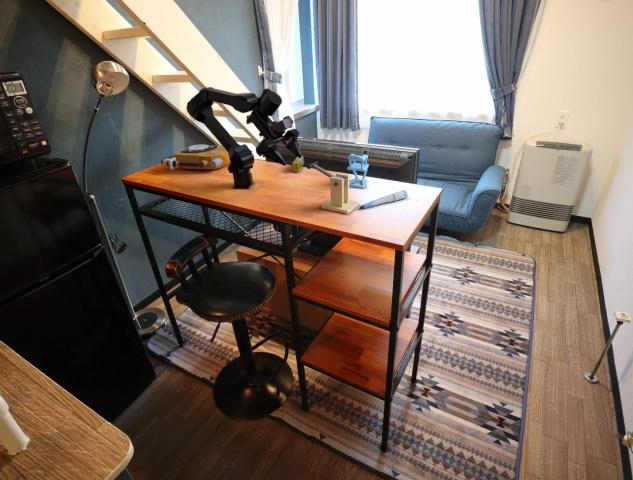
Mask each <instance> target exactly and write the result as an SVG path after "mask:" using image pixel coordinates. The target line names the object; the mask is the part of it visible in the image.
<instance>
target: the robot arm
mask: <svg viewBox="0 0 633 480" xmlns="http://www.w3.org/2000/svg"><path fill="white" fill-rule="evenodd" d="M214 103H218V104H222V105H225V106H230V107H231V108H233V110H235V111H236V112H239V113H240V114H247V113H249V112H251V113H250V114H248V115H246V116H245V117H246V119H245V123H246V125H249V124H253V126H254V127H255V128H256V129H257V131H258V132H259V133H258V136H259V138H261V137H263V139H261V141H259V143H258V144H257V146H256V147H255V153H256V154H257V156H258V157H262V158H266V159H268V160H271V161H273V162H275V163H277V164H279V165H281V166H283V167H285V166H287V162H286V161H285V159H284V157H283V155H281V153H280V152H279V150H278V145H281V144H283V145H284V146H285V148H286V150H288V151H290V152H291V153H292V155H294V156H295V157H296V158H297V157H298V158H301V157H302V152H301V150H300V147H299V144H298V138H299V135H300V131H298V129H297V128H293V127H294V126H293V125H294V119H292V117H291V116H290V115H287V116H286V115H285V116H284V117H282V120H279V121H277V120H272V118H271V117H273V116H274V115H275V113H276V112H277V111H278V109H279V108H280V106H281V105H282V104H283V99H282V96H281V95H280V94H278V93H276V92H275V91H273V90H271V89H270V88H269V87H268V88H264V89H263V91H262V93H261V95H260V96H257V94H256V93H254V92H240V93H235V92H231V91H227V90H222V89H219V88H215V87H212V86H208V87H203V88H200V90H199V91H198V93H196V95H194V96H193V97H191V99H190V100H188V102H187V103H186V106H185V107H186V108H185V109H186V112H187V114H188V115H189V116H190V117H191V118H192V119H193V120H194V121H196V122H198V123H201V124H203V125H204V126H205V127H206V128H207V130H208V131H209V132H210V133H211V134H212V135H213V137H214V138H215V139H216V140H217V141H218V143H219V144H220V145H222V146H223V147H224V148H225V149H226V150H227V152H228V155H229V160H230V161H231V162H230V163H229V164H228V166H227V170H228V171H227V172H228V173H229V174H232V179H233V185H232V188H233V189H250V187H251V186H252V185H253V184H254V179H253V173H252V172H251V170H252V169H253V168H254V163H255V155H254V154H253V150H251V149H250V148H249V146H248V144H245V143H244V144H239V143H238V142H237V141H236V140H235V138H233V136H232V135H231V134H230V133H229V131H228V130H227V129H226V128H225V127H224V125H222V123H221V122H220V121H219V119H217V118H216V116H215V115H214V108H213V105H214Z"/></svg>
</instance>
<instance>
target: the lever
mask: <svg viewBox="0 0 633 480" xmlns="http://www.w3.org/2000/svg"><path fill="white" fill-rule="evenodd" d="M312 168H313V169H314V170H315V171H317V172H320V173H321V174H322V175H324V176H326V177H327V178H329V179H330V177H336V175H334V174H333V173H331V172H329V171H327V170H326V169H324V168H323V167H320V166H319V161H318V160H316V161H314V162H312V163H310V164H308V165H307V166H306V170H310V169H312ZM337 178H343V177H341V176H340V175H339V176H337ZM343 179H344V183H345V181H346V179H345V178H343Z"/></svg>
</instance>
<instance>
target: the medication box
mask: <svg viewBox="0 0 633 480" xmlns="http://www.w3.org/2000/svg"><path fill="white" fill-rule="evenodd" d="M301 155H302V154H301ZM304 165H305V158H304V155H302V157H301V158H298V157H297V156H296V158H295V159H294V160H293V162H291V167H292V170H293V173H298V172H301V170H302V168H303V166H304Z"/></svg>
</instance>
